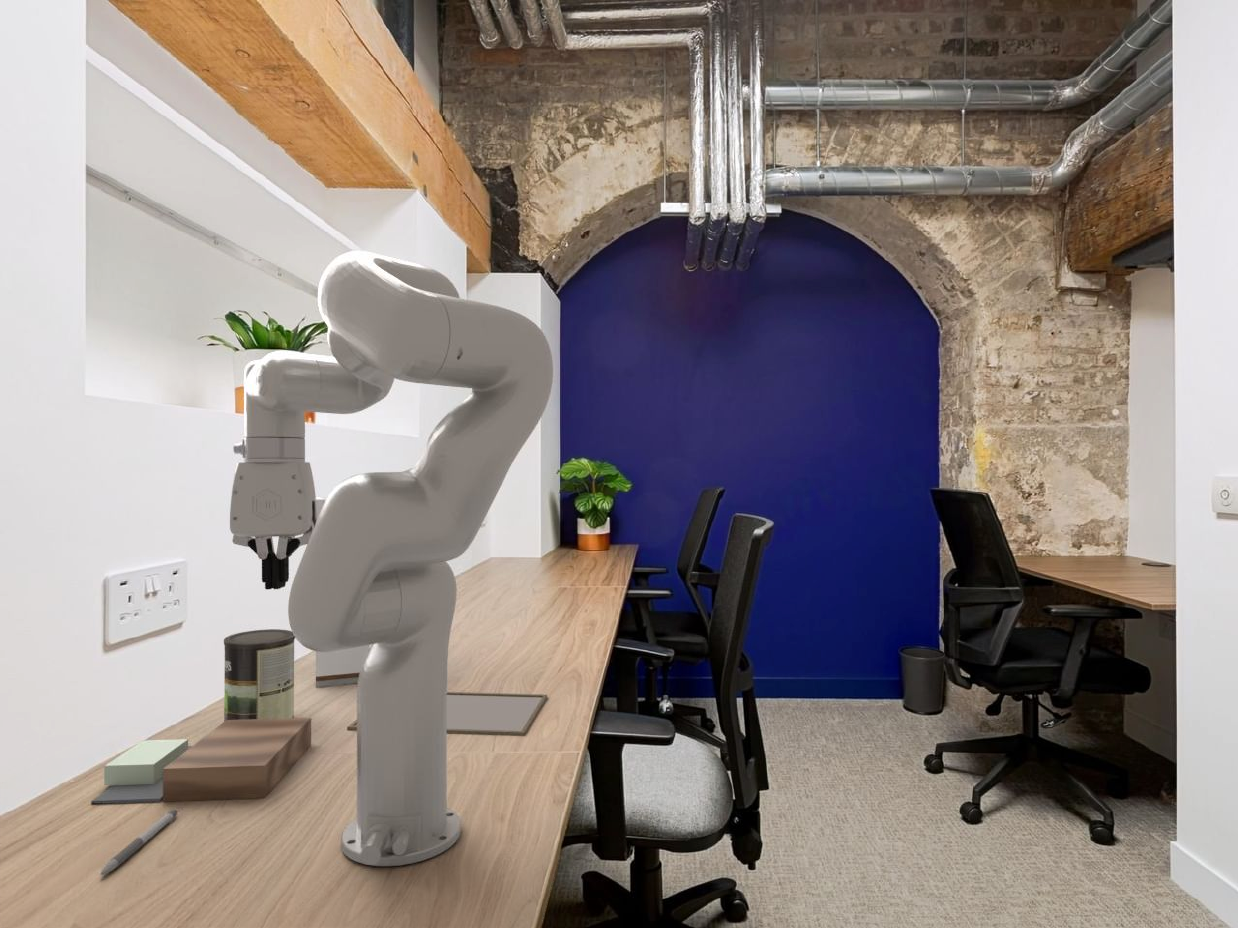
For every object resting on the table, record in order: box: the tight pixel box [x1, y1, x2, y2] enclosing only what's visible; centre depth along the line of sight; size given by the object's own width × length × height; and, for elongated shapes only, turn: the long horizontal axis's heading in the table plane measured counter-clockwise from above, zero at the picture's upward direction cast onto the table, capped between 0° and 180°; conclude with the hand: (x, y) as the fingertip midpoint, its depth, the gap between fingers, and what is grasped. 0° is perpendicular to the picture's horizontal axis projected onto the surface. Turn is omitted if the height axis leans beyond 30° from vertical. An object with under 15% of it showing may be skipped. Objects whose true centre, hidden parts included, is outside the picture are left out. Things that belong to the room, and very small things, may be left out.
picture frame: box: [346, 691, 548, 737], centre depth 126 cm, size 19×1×28 cm
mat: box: [90, 745, 193, 805], centre depth 101 cm, size 18×8×1 cm, turn 5°
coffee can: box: [223, 628, 296, 722], centre depth 120 cm, size 10×10×14 cm
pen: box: [100, 808, 179, 876], centre depth 82 cm, size 1×14×1 cm, turn 3°
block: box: [103, 738, 189, 786], centre depth 101 cm, size 9×6×2 cm, turn 5°
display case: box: [315, 496, 370, 688], centre depth 148 cm, size 11×11×35 cm
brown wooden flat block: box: [162, 717, 312, 803], centre depth 102 cm, size 18×12×4 cm, turn 5°
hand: (275, 587), depth 102 cm, fingers closed
